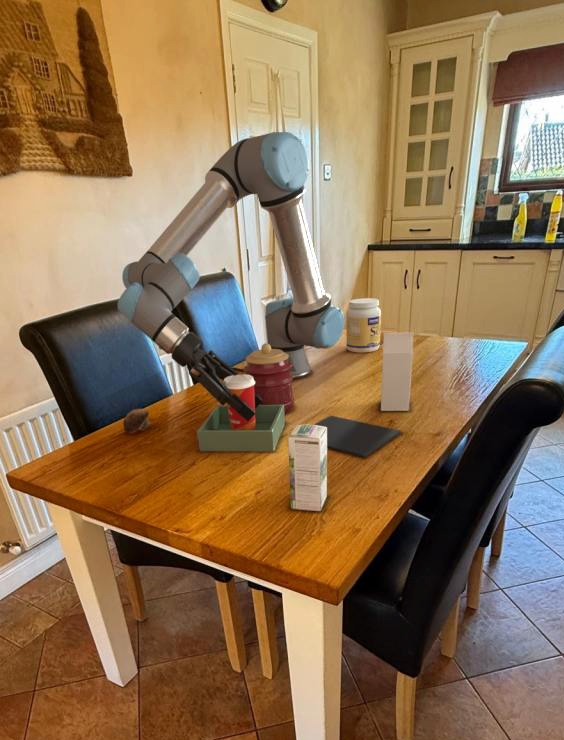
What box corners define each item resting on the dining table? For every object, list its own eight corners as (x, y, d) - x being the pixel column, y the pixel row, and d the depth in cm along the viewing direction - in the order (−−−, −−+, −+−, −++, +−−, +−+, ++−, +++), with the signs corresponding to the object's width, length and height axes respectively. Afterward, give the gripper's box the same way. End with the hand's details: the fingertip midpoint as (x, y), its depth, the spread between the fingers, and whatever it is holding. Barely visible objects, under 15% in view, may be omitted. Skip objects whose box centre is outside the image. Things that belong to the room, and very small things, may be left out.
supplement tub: (371, 354, 182) (373, 304, 174) (340, 352, 188) (340, 303, 180) (385, 346, 191) (387, 297, 182) (355, 344, 197) (355, 297, 188)
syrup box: (298, 494, 99) (294, 423, 92) (328, 496, 97) (327, 424, 90) (290, 509, 94) (286, 435, 87) (322, 512, 93) (320, 437, 85)
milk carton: (408, 411, 132) (414, 335, 123) (380, 411, 134) (383, 336, 124) (408, 402, 138) (413, 329, 129) (381, 402, 140) (384, 330, 130)
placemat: (292, 438, 123) (292, 436, 122) (330, 417, 133) (330, 415, 132) (364, 457, 111) (364, 455, 110) (400, 433, 121) (400, 430, 120)
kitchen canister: (301, 403, 144) (298, 338, 135) (282, 419, 134) (278, 350, 125) (260, 399, 149) (254, 337, 140) (239, 415, 139) (231, 348, 130)
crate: (199, 451, 120) (196, 431, 118) (219, 423, 135) (216, 405, 132) (273, 451, 117) (272, 431, 114) (285, 422, 132) (284, 404, 129)
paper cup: (228, 430, 129) (221, 375, 122) (258, 427, 129) (253, 372, 122) (228, 442, 122) (221, 385, 115) (260, 439, 122) (255, 381, 115)
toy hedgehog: (161, 414, 134) (143, 398, 131) (149, 436, 130) (130, 419, 127) (145, 424, 139) (127, 408, 136) (132, 445, 135) (113, 430, 132)
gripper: (185, 344, 127) (254, 406, 132) (155, 368, 110) (236, 438, 115) (202, 321, 123) (273, 385, 129) (174, 341, 106) (257, 415, 111)
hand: (255, 410), depth 122 cm, fingers closed on paper cup, 8 cm apart
